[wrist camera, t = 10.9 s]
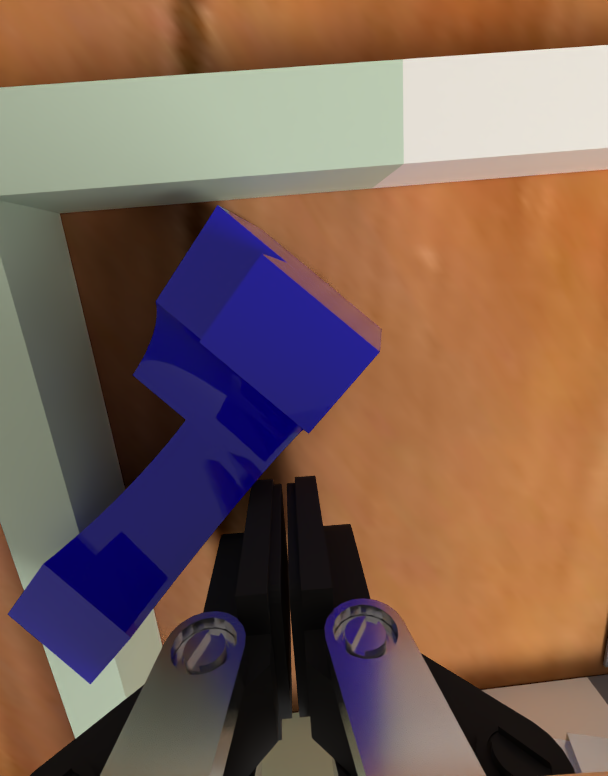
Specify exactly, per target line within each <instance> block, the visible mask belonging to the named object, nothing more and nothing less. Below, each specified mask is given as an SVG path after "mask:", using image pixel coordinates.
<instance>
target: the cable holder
mask: <svg viewBox="0 0 608 776" xmlns="http://www.w3.org/2000/svg"><path fill="white" fill-rule="evenodd" d="M156 307H157V318H156V325H155V329H154V333H153V336H152V339H151V341H150V344H149V346H148V348H147V351H146V353H145V355H144V357H143V358H142V360H141V362H140V364H139V366H138V367H137V369H136V371H135V372H134V374H133V376H134V377H135V378H136V379H138V380H139V381H140V382H141V383H142V384H144V385H145V386H146V387H147V388H148V389H150V390H151V391H152V392H153V393H154V394H156V395H157V396H158V397H159V398H160V399H162V400H163V401H164V402H165V403H166V404H168V405H169V406H170V407H171V408H172V409H174V410H175V411H176V412H177V413H178V414H179V415H181V416H182V417H183V418H184V419H185V422H184V423H183V424H182V426H181V427H180V428H179V429H178V431H177V432H176V433H175V435H174V436H173V437H172V438H171V439H170V441H169V442H168V443H167V444H166V446H165V447H164V448H163V449H162V450H161V451H160V453H159V454H158V455H157V456H156V457H155V458H154V459H153V461H152V462H151V463H150V464H149V465H148V466H147V467H146V468H145V469H144V471H143V472H142V473H141V474H140V475H139V476H138V477H137V478H136V479H135V480H134V481H133V482H132V483H131V484H130V485H129V486H128V487H127V489H126V490H125V491H124V492H123V493H122V494H121V495H120V496H119V497H118V498H117V499H116V500H115V501H114V502H113V503H112V504H111V505H110V506H108V507H107V508H106V509H105V510H104V511H103V512H102V513H101V514H100V515H99V516H98V517H97V518H96V519H95V520H94V521H93V522H92V523H90V524H89V525H88V526H87V527H86V528H85V529H84V530H83V531H82V532H81V533H79V534H78V535H77V536H76V537H75V538H74V539H72V540H71V541H70V542H69V543H68V544H67V545H66V546H64V547H63V548H62V549H61V550H60V551H58V552H57V553H56V554H55V555H53V556H52V557H51V558H50V559H48V560H47V561H46V562H45V563H43V565H42V566H41V568H40V569H39V570H38V572H37V573H36V575H35V576H34V577H33V579H32V580H31V582H30V583H29V585H28V586H27V587H26V589H25V590H24V592H23V593H22V595H21V596H20V597H19V599H18V600H17V602H16V603H15V604H14V606H13V607H12V609H11V610H10V612H9V613H8V615H9V616H10V617H11V618H13V619H14V620H15V621H16V622H17V623H18V624H20V625H21V626H22V627H23V628H24V629H26V630H27V631H28V632H29V633H30V634H31V635H33V636H34V637H35V638H36V639H37V640H38V641H40V642H41V643H42V644H43V645H44V646H46V647H47V648H48V649H49V650H50V651H51V652H53V653H54V654H55V655H56V656H57V657H59V658H60V659H61V660H62V661H63V662H64V663H66V664H67V665H68V666H69V667H70V668H72V669H73V670H74V671H75V672H76V673H77V674H79V675H80V676H81V677H82V678H83V679H84V680H86V681H87V682H88V683H89V684H90V685H91V684H92V682H93V681H94V680H95V679H96V678H97V677H98V675H99V674H100V673H101V672H102V671H103V670H104V669H105V667H106V666H107V665H108V664H109V663H110V662H111V661H112V659H113V658H114V657H115V656H116V655H117V654H118V652H119V651H120V650H121V649H122V648H123V647H124V646H125V644H126V643H127V642H128V641H129V640H130V639H131V637H132V636H133V635H134V633H135V632H136V631H137V629H138V628H139V627H140V625H141V624H142V623H143V621H144V620H145V619H146V618H147V616H148V615H149V614H150V612H151V611H152V610H153V608H154V607H155V606H156V604H157V603H158V602H159V601H160V599H161V598H162V597H163V595H164V594H165V593H166V591H167V590H168V589H169V588H170V586H171V585H172V584H173V582H174V581H175V580H176V579H177V577H178V576H179V575H180V574H181V572H182V571H183V570H184V568H185V567H186V566H187V565H188V563H189V562H190V561H191V560H192V558H193V557H194V556H195V555H196V553H197V552H198V551H199V550H200V548H201V547H202V546H203V545H204V543H205V542H206V541H207V540H208V538H209V537H210V536H211V535H212V534H213V532H214V531H215V530H216V529H217V527H218V526H219V525H220V524H221V522H222V521H223V520H224V519H225V518H226V516H227V515H228V514H229V513H230V512H231V510H232V509H233V508H234V507H235V506H236V504H237V503H238V502H239V501H240V500H241V498H242V497H243V496H244V495H245V494H246V492H247V491H248V490H249V489H250V488H251V486H252V485H253V484H254V483H255V482H256V481H257V479H258V478H259V477H260V476H261V475H262V474H263V472H264V471H265V470H266V469H267V468H268V467H269V466H270V464H271V463H272V462H273V461H274V460H275V459H276V458H277V457H278V455H279V454H280V453H281V452H282V451H283V450H284V449H285V448H286V447H287V446H288V445H289V444H290V442H291V441H292V440H293V439H294V438H295V437H296V436H297V435H298V434H299V433H300V432H301V431H302V430H303V429H304V430H305V431H306V432H307V433H310V432H311V430H312V429H313V428H314V427H315V426H316V425H317V424H318V422H319V421H320V420H321V419H322V418H323V417H324V415H325V414H326V413H327V412H328V411H329V410H330V409H331V407H332V406H333V405H334V404H335V403H336V402H337V400H338V399H339V398H340V397H341V396H342V395H343V394H344V392H345V391H346V390H347V389H348V388H349V387H350V386H351V384H352V383H353V382H354V381H355V380H356V379H357V377H358V376H359V375H360V374H361V373H362V372H363V371H364V369H365V368H366V367H367V366H368V365H369V364H370V363H371V361H372V360H373V359H374V358H375V357H376V356H377V354H378V353H379V352H380V345H381V333H382V329H381V328H380V327H379V326H377V325H376V324H375V323H374V322H373V321H371V320H370V319H369V318H368V317H367V316H365V315H364V314H363V313H362V312H361V311H359V310H358V309H357V308H356V307H355V306H353V305H352V304H351V303H350V302H348V301H347V300H346V299H345V298H344V297H342V296H341V295H340V294H339V293H338V292H336V291H335V290H334V289H333V288H332V287H330V286H329V285H328V284H327V283H326V282H324V281H323V280H322V279H321V278H320V277H318V276H317V275H316V274H315V273H314V272H312V271H311V270H310V269H309V268H308V267H306V266H305V265H304V264H303V263H301V262H300V261H299V260H298V259H297V258H295V257H294V256H293V255H292V254H291V253H289V252H288V251H287V250H286V249H285V248H283V247H282V246H281V245H280V244H279V243H277V242H276V241H275V240H274V239H273V238H271V237H270V236H269V235H268V234H267V233H265V232H264V231H263V230H262V229H260V228H258V227H257V226H255V225H253V224H251V223H249V222H248V221H246V220H244V219H242V218H240V217H239V216H237V215H235V214H233V213H231V212H230V211H228V210H226V209H224V208H222V207H221V206H219V205H217V207H216V208H215V210H214V212H213V213H212V215H211V216H210V218H209V219H208V221H207V222H206V224H205V226H204V227H203V229H202V230H201V232H200V233H199V235H198V236H197V238H196V240H195V241H194V243H193V244H192V246H191V247H190V249H189V250H188V252H187V254H186V255H185V257H184V258H183V260H182V261H181V263H180V264H179V266H178V268H177V269H176V271H175V272H174V274H173V275H172V277H171V278H170V280H169V281H168V283H167V285H166V286H165V288H164V289H163V291H162V292H161V294H160V295H159V297H158V299H157V300H156Z"/></svg>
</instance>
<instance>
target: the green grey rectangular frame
mask: <svg viewBox="0 0 608 776" xmlns="http://www.w3.org/2000/svg"><path fill="white" fill-rule="evenodd" d="M606 169H608V45H600V46H585V47H571V48H557V49H542V50H528V51H514V52H500V53H485V54H471V55H457V56H443V57H428V58H414V59H400V60H386V61H371V62H357V63H343V64H329V65H314V66H300V67H286V68H272V69H257V70H243V71H229V72H215V73H200V74H186V75H172V76H158V77H143V78H129V79H115V80H101V81H86V82H72V83H58V84H44V85H29V86H15V87H1V88H0V523H1V526H2V529H3V532H4V534H5V537H6V540H7V543H8V546H9V549H10V552H11V555H12V557H13V560H14V563H15V566H16V569H17V572H18V575H19V578H20V581H21V583H22V586H23V589H24V590H25V589H26V587H27V586H28V585H29V583H30V582H31V580H32V579H33V577H34V576H35V575H36V573H37V572H38V570H39V569H40V568H41V566H42V565H43V563H45V562H46V561H47V560H48V559H50V558H51V557H52V556H53V555H55V554H56V553H57V552H58V551H60V550H61V549H62V548H63V547H64V546H66V545H67V544H68V543H69V542H70V541H71V540H72V539H74V538H75V537H76V536H77V535H78V534H79V533H81V532H82V531H83V530H84V529H85V528H86V527H87V526H88V525H89V524H90V523H92V522H93V521H94V520H95V519H96V518H97V517H98V516H99V515H100V514H101V513H102V512H103V511H104V510H105V509H106V508H107V507H108V506H110V505H111V504H112V503H113V502H114V501H115V500H116V499H117V498H118V497H119V496H120V495H121V494H122V493H123V492H124V491H125V487H124V483H123V478H122V474H121V470H120V466H119V461H118V457H117V453H116V449H115V445H114V440H113V436H112V432H111V428H110V423H109V419H108V415H107V411H106V407H105V402H104V398H103V394H102V390H101V385H100V381H99V377H98V373H97V369H96V364H95V360H94V356H93V352H92V347H91V343H90V339H89V335H88V331H87V326H86V322H85V318H84V314H83V309H82V305H81V301H80V297H79V293H78V288H77V284H76V280H75V276H74V271H73V267H72V263H71V259H70V255H69V250H68V246H67V242H66V238H65V234H64V229H63V225H62V221H61V217H60V213H71V212H84V211H96V210H108V209H121V208H133V207H146V206H158V205H171V204H183V203H195V202H208V201H220V200H233V199H245V198H258V197H270V196H283V195H295V194H307V193H320V192H332V191H345V190H357V189H370V188H382V187H394V186H407V185H419V184H432V183H444V182H457V181H469V180H482V179H494V178H506V177H519V176H531V175H544V174H556V173H569V172H581V171H593V170H606ZM43 647H44V650H45V653H46V656H47V658H48V661H49V664H50V667H51V670H52V673H53V676H54V679H55V681H56V684H57V687H58V690H59V693H60V696H61V699H62V702H63V705H64V707H65V710H66V713H67V716H68V719H69V722H70V725H71V728H72V730H73V733H74V736H75V739H76V738H77V737H78V736H80V735H81V734H82V733H83V732H85V731H86V730H87V729H88V728H90V727H91V726H92V725H93V724H95V723H96V722H97V721H98V720H100V719H101V718H102V717H104V716H105V715H106V714H107V713H109V712H110V711H111V710H112V709H114V708H115V707H116V706H117V705H119V704H120V703H121V702H122V701H124V700H125V699H126V698H128V697H129V696H130V695H131V694H133V693H134V692H135V691H136V690H138V689H139V688H140V687H141V686H143V685H144V684H145V682H146V680H147V678H148V676H149V674H150V671H151V669H152V667H153V665H154V663H155V661H156V659H157V657H158V655H159V653H160V651H161V649H162V643H161V639H160V634H159V630H158V626H157V622H156V618H155V613H154V609H153V610H152V611H151V612H150V614H149V615H148V616H147V618H146V619H145V620H144V621H143V623H142V624H141V625H140V627H139V628H138V629H137V631H136V632H135V633H134V635H133V636H132V637H131V639H130V640H129V641H128V642H127V643H126V644H125V646H124V647H123V648H122V649H121V650H120V651H119V652H118V654H117V655H116V656H115V657H114V658H113V659H112V661H111V662H110V663H109V664H108V665H107V666H106V667H105V669H104V670H103V671H102V672H101V673H100V674H99V675H98V677H97V678H96V679H95V680H94V681H93V682H92V684H91V685H90V684H89V683H88V682H87V681H86V680H84V679H83V678H82V677H81V676H80V675H79V674H77V673H76V672H75V671H74V670H73V669H72V668H70V667H69V666H68V665H67V664H66V663H64V662H63V661H62V660H61V659H60V658H59V657H57V656H56V655H55V654H54V653H53V652H51V651H50V650H49V649H48V648H47V647H46V646H44V645H43ZM603 665H604V666H605V667H608V639H607V645H606V651H605V656H604V662H603ZM482 691H483V692H485V693H487V694H488V695H490V696H492V697H493V698H495V699H496V700H498V701H500V702H501V703H503V704H505V705H506V706H508V707H509V708H511V709H513V710H514V711H516V712H518V713H519V714H521V715H523V716H524V717H526V718H527V719H529V720H531V721H532V722H534V723H535V724H536V725H538V726H539V727H540V728H542V729H543V730H544V731H546V732H547V733H548V734H549V735H550V736H551V737H552V738H554V739H560V740H566V735H567V733H574V734H581V735H588V736H595V737H601V738H608V675H600V676H592V677H584V678H576V679H568V680H560V681H551V682H543V683H535V684H527V685H519V686H510V687H502V688H494V689H486V690H482ZM262 776H334V772H333V764H332V756H330V755H329V754H328V753H327V752H326V751H325V750H324V749H323V748H322V747H321V746H320V745H319V744H318V743H316V742H315V741H314V740H313V739H312V735H311V722H310V717H300V716H299V712H297V713H292V718H290V719H282V740H279V741H278V742H277V743H276V745H275V746H274V747H273V748H272V749H271V750H270V752H269V753H268V754H267V755H266V756H265V758H264V759H263V760H262Z"/></svg>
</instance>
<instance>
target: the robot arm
mask: <svg viewBox="0 0 608 776" xmlns="http://www.w3.org/2000/svg"><path fill="white" fill-rule="evenodd" d="M287 516H288V554H287V542H286V530H285V518H284V506H283V494H282V484H274V482H273V479H267V480H257V481H256V482H255V483H254V484H253V485H252V486H251V490H250V497H249V504H248V511H247V518H246V524H245V531H244V533H233V534H223V535H222V536H221V539H220V543H219V547H218V551H217V556H216V560H215V564H214V569H213V573H212V577H211V581H210V586H209V590H208V594H207V599H206V603H205V607H204V612H203V613H201V614H198V615H195V616H192V617H191V618H189V619H187V620H185V621H184V622H182V623H181V624H180V625H178V626H177V627H176V628H175V629H174V630H173V631H172V632H171V634H170V635H169V637H168V638H167V640H166V641H165V643H164V645H163V647H162V649H161V651H160V653H159V655H158V657H157V659H156V661H155V663H154V665H153V667H152V669H151V671H150V674H149V676H148V678H147V680H146V682H145V684H144V685H143V686H141V687H140V688H139V689H138V690H136V691H135V692H134V693H133V694H131V695H130V696H129V697H128V698H126V699H125V700H124V701H122V702H121V703H120V704H119V705H117V706H116V707H115V708H114V709H112V710H111V711H110V712H109V713H107V714H106V715H105V716H104V717H102V718H101V719H100V720H98V721H97V722H96V723H95V724H93V725H92V726H91V727H90V728H88V729H87V730H86V731H85V732H83V733H82V734H81V735H80V736H78V737H77V738H76V739H74V740H73V741H72V742H71V743H69V744H68V745H67V746H66V747H64V748H63V749H62V750H61V751H59V752H58V753H57V754H56V755H54V756H53V757H52V758H50V759H49V760H48V761H47V762H45V763H44V764H43V765H42V766H40V767H39V768H38V769H37V770H35V771H34V772H33V773H32V774H31V775H30V776H262V760H263V759H264V758H265V756H266V755H267V754H268V753H269V752H270V750H271V749H272V748H273V747H274V746H275V745H276V743H277V742H278V741H279V740H282V719H290V718H292V677H291V626H290V611H291V623H292V635H293V646H294V658H295V670H296V681H297V693H298V705H299V716H300V717H310V722H311V735H312V739H313V740H314V741H315V742H316V743H318V744H319V745H320V746H321V747H322V748H323V749H324V750H325V751H326V752H327V753H328V754H329V755H330V756H332V764H333V772H334V776H608V738H601V737H595V736H588V735H581V734H574V733H567V735H566V740H560V739H554V738H552V737H551V736H550V735H549V734H548V733H547V732H546V731H544V730H543V729H542V728H540V727H539V726H538V725H536V724H535V723H534V722H532V721H531V720H529V719H527V718H526V717H524V716H523V715H521V714H519V713H518V712H516V711H514V710H513V709H511V708H509V707H508V706H506V705H505V704H503V703H501V702H500V701H498V700H496V699H495V698H493V697H492V696H490V695H488V694H487V693H485V692H483V691H482V690H480V689H478V688H477V687H475V686H474V685H472V684H470V683H469V682H467V681H465V680H464V679H462V678H460V677H459V676H457V675H456V674H454V673H452V672H451V671H449V670H447V669H446V668H444V667H442V666H441V665H439V664H438V663H436V662H434V661H433V660H431V659H429V658H428V657H426V656H424V655H423V654H421V653H420V651H419V649H418V647H417V645H416V643H415V642H414V640H413V638H412V636H411V634H410V632H409V630H408V628H407V627H406V625H405V623H404V621H403V620H402V618H401V617H400V616H399V614H398V613H397V612H396V611H395V610H393V609H392V608H391V607H389V606H388V605H386V604H384V603H381V602H379V601H377V600H371V599H370V596H369V592H368V588H367V584H366V580H365V577H364V573H363V569H362V565H361V561H360V558H359V554H358V550H357V546H356V543H355V539H354V535H353V531H352V528H351V525H350V524H343V525H331V526H323V522H322V516H321V510H320V503H319V497H318V490H317V484H316V477H315V476H305V477H295V483H287Z"/></svg>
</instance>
